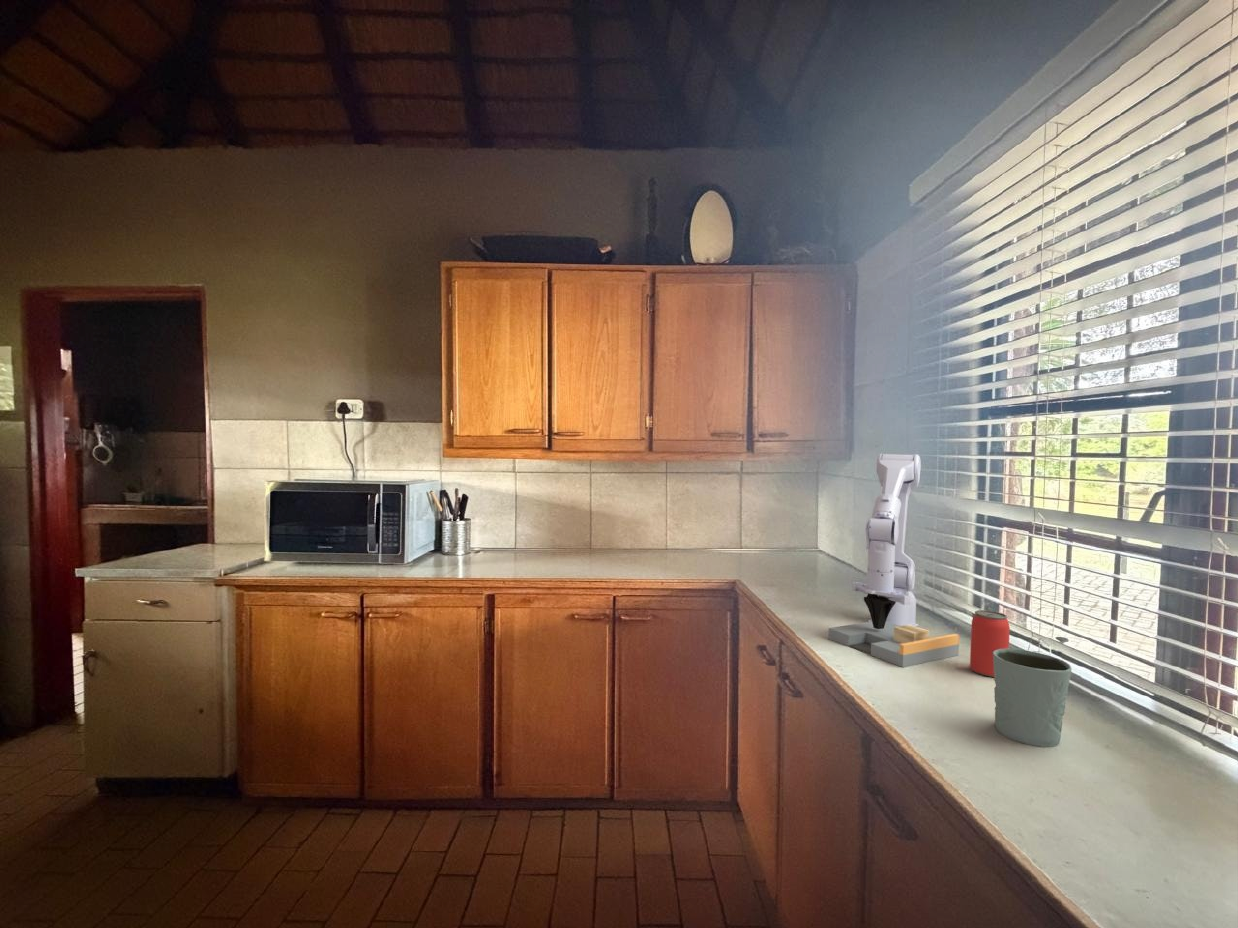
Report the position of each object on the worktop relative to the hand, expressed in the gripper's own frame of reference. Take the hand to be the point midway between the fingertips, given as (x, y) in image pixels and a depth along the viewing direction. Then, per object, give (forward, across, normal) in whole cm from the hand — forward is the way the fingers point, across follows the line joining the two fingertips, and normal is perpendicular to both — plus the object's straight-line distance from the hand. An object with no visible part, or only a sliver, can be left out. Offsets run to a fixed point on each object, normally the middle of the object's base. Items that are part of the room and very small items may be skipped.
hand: (878, 628), depth 138 cm
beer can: (+3, +23, +5) cm, 23 cm away
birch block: (+1, +8, 0) cm, 9 cm away
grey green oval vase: (+3, +42, -16) cm, 45 cm away
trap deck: (+3, +4, 0) cm, 5 cm away
